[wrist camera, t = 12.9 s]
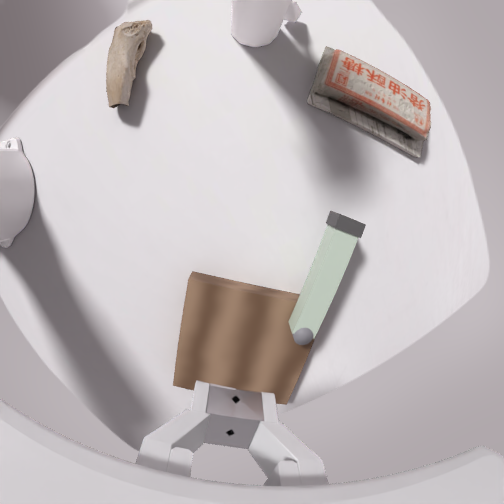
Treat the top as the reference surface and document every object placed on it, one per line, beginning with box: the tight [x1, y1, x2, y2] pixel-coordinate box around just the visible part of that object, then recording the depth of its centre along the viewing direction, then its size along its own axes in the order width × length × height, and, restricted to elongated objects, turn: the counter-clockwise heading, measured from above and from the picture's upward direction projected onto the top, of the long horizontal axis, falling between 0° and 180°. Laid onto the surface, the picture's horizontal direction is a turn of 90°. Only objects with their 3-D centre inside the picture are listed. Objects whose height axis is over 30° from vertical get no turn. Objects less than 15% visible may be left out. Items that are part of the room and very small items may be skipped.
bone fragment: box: [106, 20, 152, 108], centre depth 27 cm, size 14×6×5 cm, turn 173°
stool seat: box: [173, 271, 316, 404], centre depth 38 cm, size 18×18×3 cm
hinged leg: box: [288, 211, 365, 345], centre depth 33 cm, size 16×3×3 cm, turn 161°
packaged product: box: [307, 46, 431, 158], centre depth 30 cm, size 18×5×10 cm
